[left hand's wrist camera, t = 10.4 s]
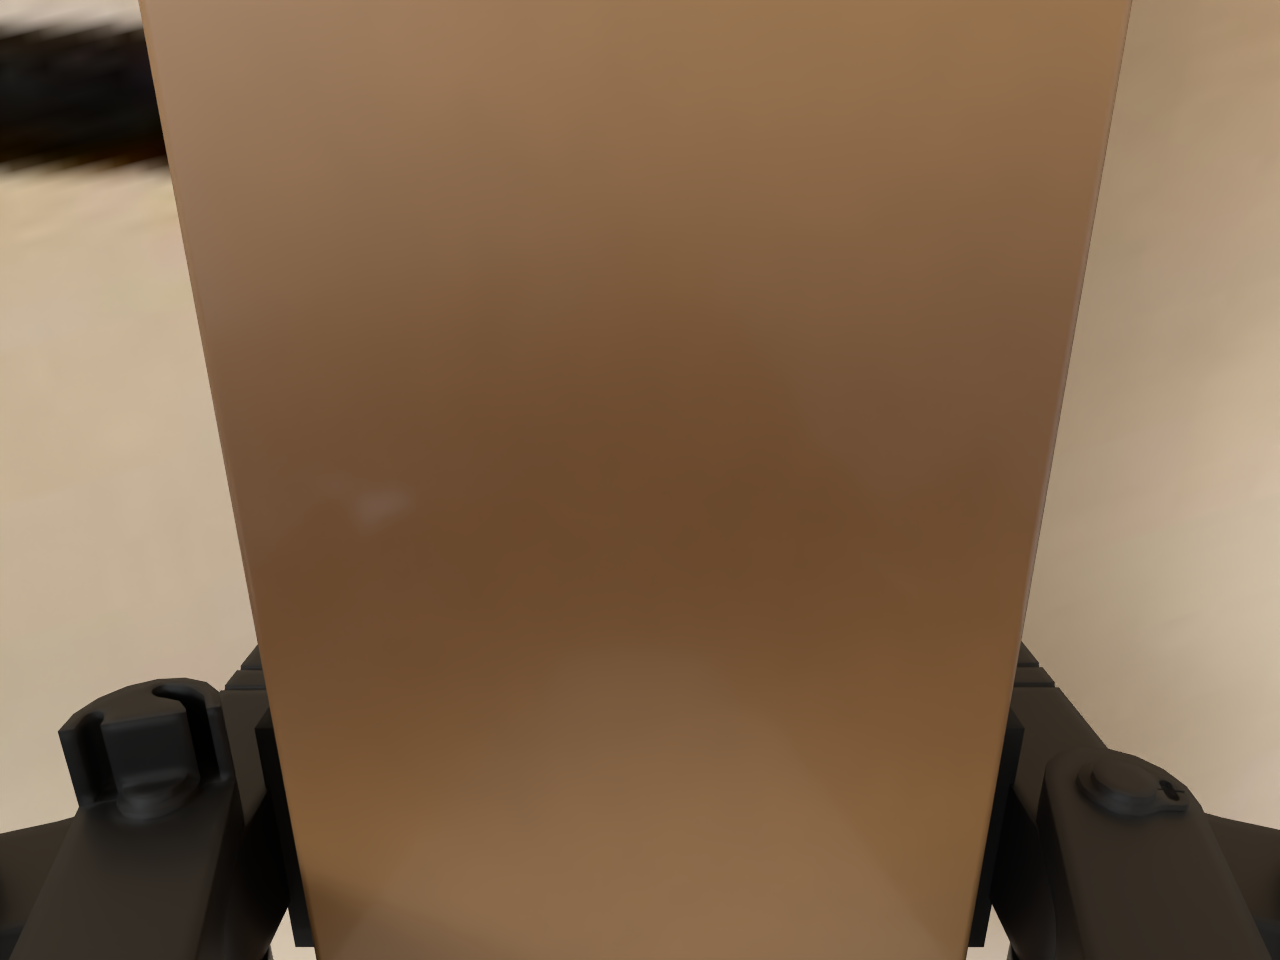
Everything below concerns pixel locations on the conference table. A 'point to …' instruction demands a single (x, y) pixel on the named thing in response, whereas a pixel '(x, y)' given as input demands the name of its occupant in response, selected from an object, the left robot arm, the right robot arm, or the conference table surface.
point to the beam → (638, 446)
